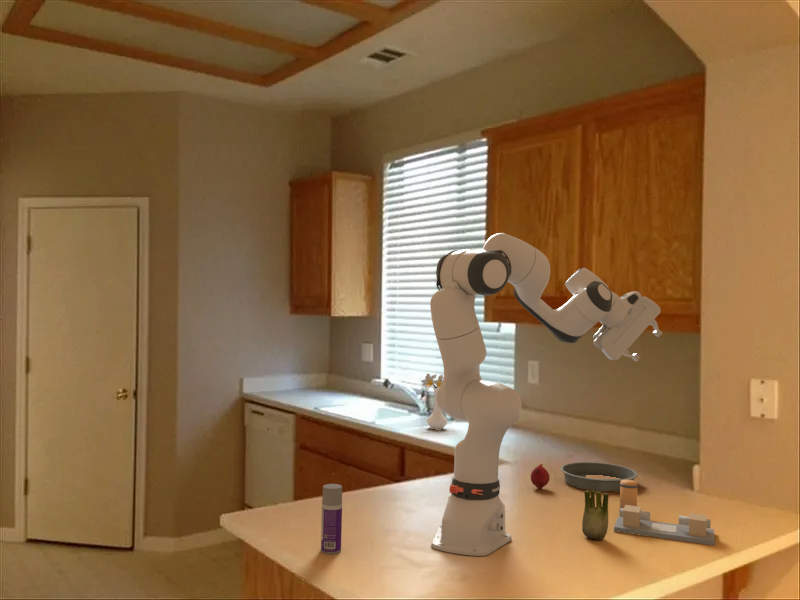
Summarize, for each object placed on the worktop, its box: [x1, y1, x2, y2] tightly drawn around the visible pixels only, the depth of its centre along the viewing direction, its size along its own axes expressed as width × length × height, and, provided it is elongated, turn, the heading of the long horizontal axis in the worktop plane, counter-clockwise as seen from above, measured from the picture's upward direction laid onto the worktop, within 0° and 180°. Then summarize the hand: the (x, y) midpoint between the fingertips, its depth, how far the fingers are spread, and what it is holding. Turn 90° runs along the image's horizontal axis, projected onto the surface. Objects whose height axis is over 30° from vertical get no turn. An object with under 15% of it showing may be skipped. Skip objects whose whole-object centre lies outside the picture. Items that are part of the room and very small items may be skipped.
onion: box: [530, 463, 551, 490], centre depth 229 cm, size 6×6×8 cm
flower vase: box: [421, 373, 448, 431], centre depth 332 cm, size 13×18×25 cm
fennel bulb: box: [581, 490, 610, 541], centre depth 182 cm, size 6×5×12 cm
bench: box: [613, 505, 716, 546], centre depth 188 cm, size 10×24×5 cm, turn 68°
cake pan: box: [560, 461, 639, 492], centre depth 239 cm, size 25×25×4 cm
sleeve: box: [619, 479, 639, 512], centre depth 205 cm, size 5×5×9 cm
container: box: [320, 483, 343, 555], centre depth 169 cm, size 5×5×15 cm
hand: (649, 347), depth 205 cm, fingers open, 8 cm apart
